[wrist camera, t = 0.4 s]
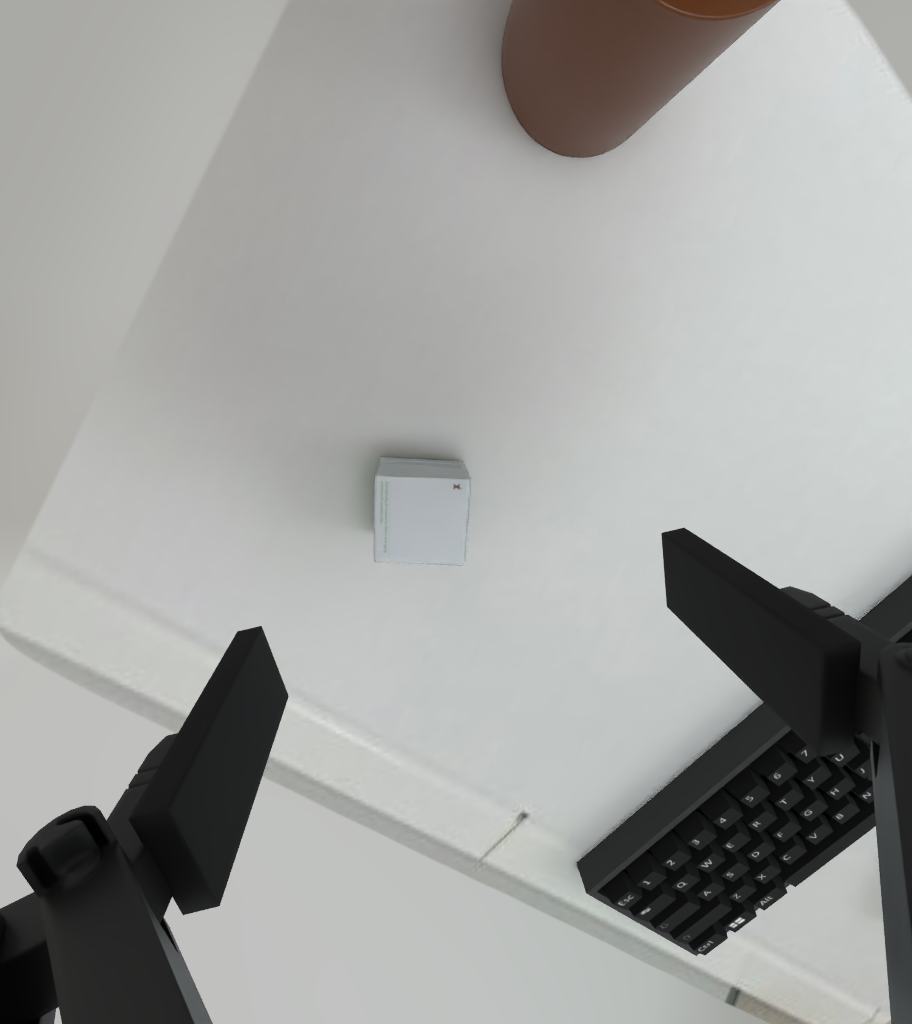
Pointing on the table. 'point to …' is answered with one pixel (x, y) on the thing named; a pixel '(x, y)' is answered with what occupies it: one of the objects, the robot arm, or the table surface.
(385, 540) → the small box
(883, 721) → the robot arm
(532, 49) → the bottle
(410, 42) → the table surface
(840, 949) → the table surface
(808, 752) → the computer keyboard
